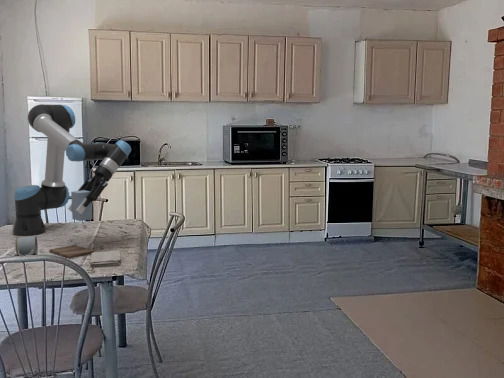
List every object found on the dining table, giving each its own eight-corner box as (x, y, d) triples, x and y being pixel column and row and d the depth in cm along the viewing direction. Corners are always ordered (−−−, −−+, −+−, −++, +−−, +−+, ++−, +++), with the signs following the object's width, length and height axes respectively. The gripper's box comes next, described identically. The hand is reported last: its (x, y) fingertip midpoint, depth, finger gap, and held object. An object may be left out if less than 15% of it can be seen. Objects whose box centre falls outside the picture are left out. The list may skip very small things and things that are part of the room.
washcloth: (89, 269, 203) (89, 261, 202) (90, 257, 220) (90, 250, 219) (121, 267, 206) (121, 259, 206) (119, 255, 223) (119, 248, 223)
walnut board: (49, 252, 226) (49, 249, 226) (74, 247, 235) (74, 244, 235) (68, 259, 215) (68, 256, 215) (94, 253, 224) (94, 250, 224)
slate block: (72, 219, 226) (71, 191, 225) (84, 217, 231) (83, 190, 229) (80, 221, 222) (78, 193, 221) (92, 218, 227) (91, 191, 225)
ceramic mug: (17, 252, 226) (16, 235, 224) (38, 251, 228) (37, 233, 227) (14, 259, 216) (13, 241, 214) (35, 257, 218) (34, 239, 217)
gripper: (123, 177, 229) (92, 219, 220) (99, 173, 242) (68, 213, 232) (113, 166, 225) (80, 208, 215) (88, 163, 237) (56, 203, 227)
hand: (74, 211), depth 223 cm, fingers closed on slate block, 6 cm apart
